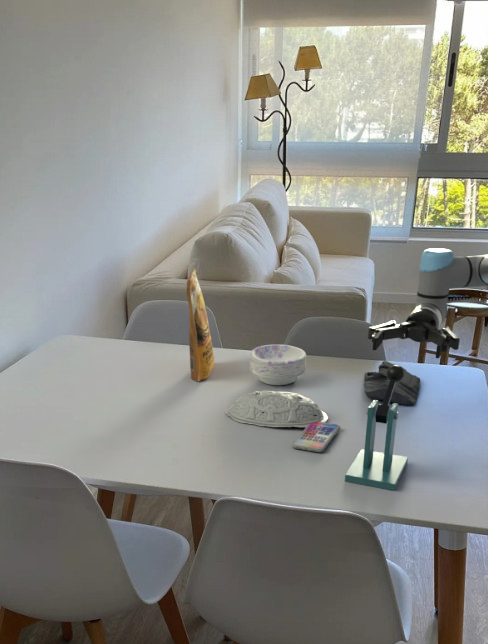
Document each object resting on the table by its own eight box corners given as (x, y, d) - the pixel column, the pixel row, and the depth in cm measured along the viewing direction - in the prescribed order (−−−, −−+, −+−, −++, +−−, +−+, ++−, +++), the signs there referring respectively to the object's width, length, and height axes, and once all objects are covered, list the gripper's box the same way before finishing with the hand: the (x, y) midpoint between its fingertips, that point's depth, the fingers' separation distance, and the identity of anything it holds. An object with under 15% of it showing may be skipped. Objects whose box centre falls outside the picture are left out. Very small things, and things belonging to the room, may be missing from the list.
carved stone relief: (321, 430, 161) (321, 402, 159) (217, 424, 168) (216, 396, 166) (332, 412, 175) (333, 386, 173) (236, 407, 182) (236, 382, 180)
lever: (388, 372, 148) (388, 360, 145) (406, 374, 147) (406, 362, 144) (372, 423, 141) (371, 411, 138) (390, 426, 139) (389, 414, 137)
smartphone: (290, 444, 155) (311, 419, 167) (290, 448, 155) (311, 423, 167) (322, 449, 152) (341, 424, 164) (322, 453, 152) (341, 428, 165)
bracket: (360, 455, 152) (366, 390, 146) (407, 463, 149) (415, 398, 142) (344, 481, 141) (350, 413, 135) (394, 490, 138) (402, 421, 132)
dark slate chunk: (354, 401, 180) (356, 384, 178) (365, 374, 199) (367, 357, 197) (416, 408, 176) (418, 390, 174) (421, 379, 195) (423, 363, 193)
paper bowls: (275, 393, 185) (276, 364, 182) (238, 378, 196) (238, 350, 192) (316, 381, 194) (318, 353, 190) (279, 367, 204) (280, 340, 201)
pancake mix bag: (181, 383, 192) (178, 279, 180) (195, 361, 209) (193, 265, 197) (205, 384, 191) (203, 280, 179) (217, 362, 208) (216, 266, 196)
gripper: (474, 344, 167) (463, 372, 149) (370, 332, 176) (348, 357, 158) (479, 313, 164) (468, 338, 146) (373, 302, 172) (350, 324, 155)
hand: (405, 348), depth 152 cm, fingers open, 13 cm apart
